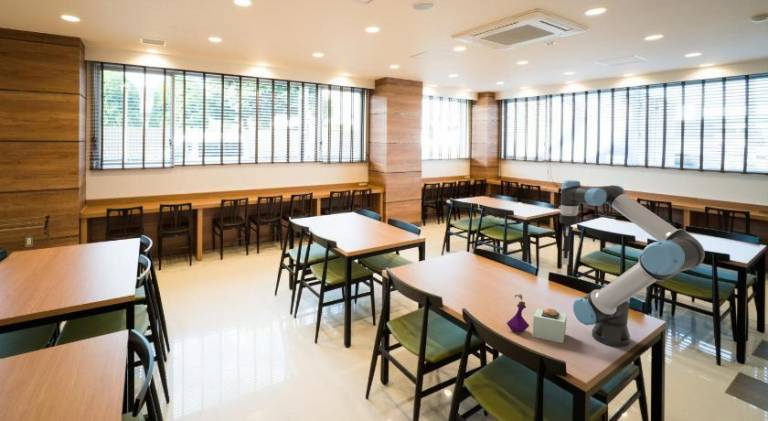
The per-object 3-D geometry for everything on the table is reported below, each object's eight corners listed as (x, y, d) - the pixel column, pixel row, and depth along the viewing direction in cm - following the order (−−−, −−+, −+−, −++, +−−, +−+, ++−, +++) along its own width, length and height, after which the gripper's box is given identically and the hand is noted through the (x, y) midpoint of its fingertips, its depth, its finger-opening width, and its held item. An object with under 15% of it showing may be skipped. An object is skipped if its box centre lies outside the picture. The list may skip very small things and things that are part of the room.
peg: (556, 330, 186) (557, 310, 184) (555, 335, 181) (556, 314, 180) (543, 327, 189) (544, 307, 187) (541, 332, 184) (543, 312, 182)
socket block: (565, 334, 186) (566, 312, 185) (563, 343, 178) (565, 320, 176) (535, 327, 193) (537, 307, 191) (532, 336, 184) (533, 314, 182)
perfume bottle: (529, 331, 189) (531, 295, 186) (518, 335, 185) (520, 298, 182) (516, 325, 195) (518, 290, 192) (505, 329, 191) (507, 293, 188)
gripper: (560, 211, 190) (557, 259, 194) (558, 216, 178) (555, 266, 182) (578, 212, 186) (574, 261, 190) (577, 217, 175) (573, 269, 179)
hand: (565, 264), depth 186 cm, fingers closed
